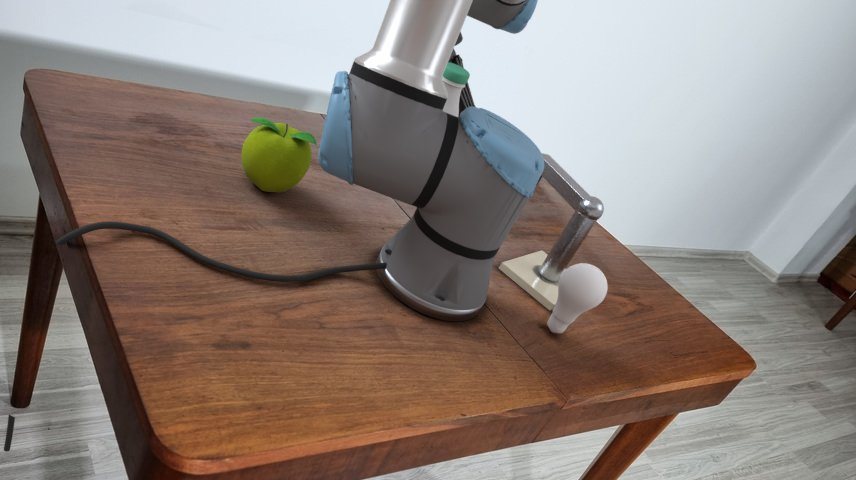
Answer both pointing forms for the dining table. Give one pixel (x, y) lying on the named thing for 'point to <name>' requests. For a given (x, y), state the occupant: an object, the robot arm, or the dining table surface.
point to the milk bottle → (454, 86)
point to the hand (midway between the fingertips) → (480, 153)
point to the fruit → (276, 155)
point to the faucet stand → (532, 277)
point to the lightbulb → (577, 295)
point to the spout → (579, 224)
